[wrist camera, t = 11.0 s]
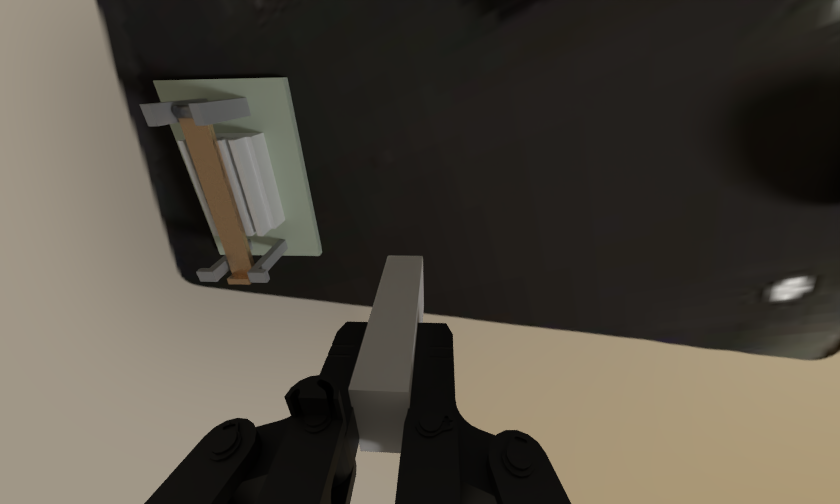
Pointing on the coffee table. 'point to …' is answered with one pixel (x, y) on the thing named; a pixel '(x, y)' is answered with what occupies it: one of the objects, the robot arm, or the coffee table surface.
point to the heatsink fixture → (248, 163)
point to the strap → (217, 193)
